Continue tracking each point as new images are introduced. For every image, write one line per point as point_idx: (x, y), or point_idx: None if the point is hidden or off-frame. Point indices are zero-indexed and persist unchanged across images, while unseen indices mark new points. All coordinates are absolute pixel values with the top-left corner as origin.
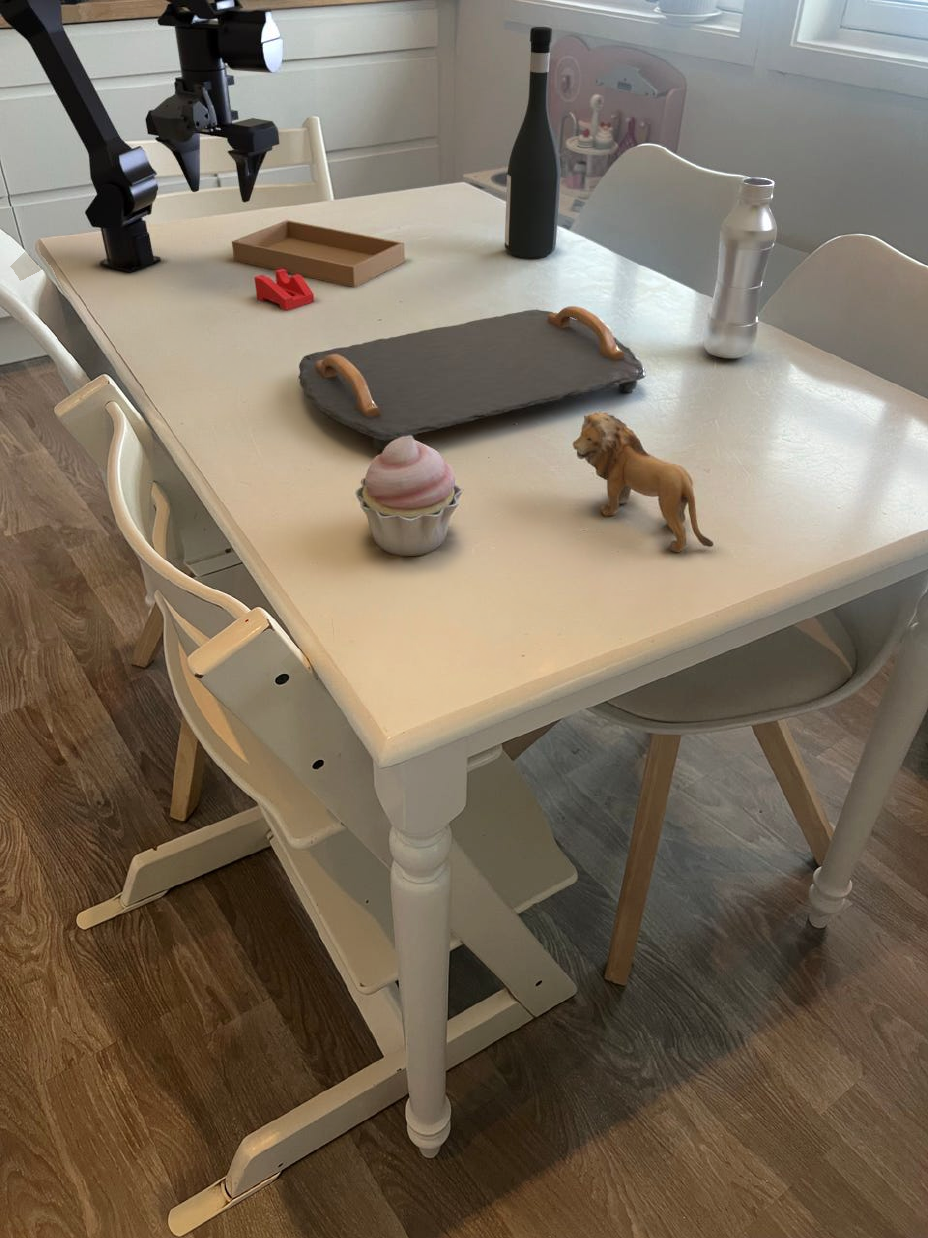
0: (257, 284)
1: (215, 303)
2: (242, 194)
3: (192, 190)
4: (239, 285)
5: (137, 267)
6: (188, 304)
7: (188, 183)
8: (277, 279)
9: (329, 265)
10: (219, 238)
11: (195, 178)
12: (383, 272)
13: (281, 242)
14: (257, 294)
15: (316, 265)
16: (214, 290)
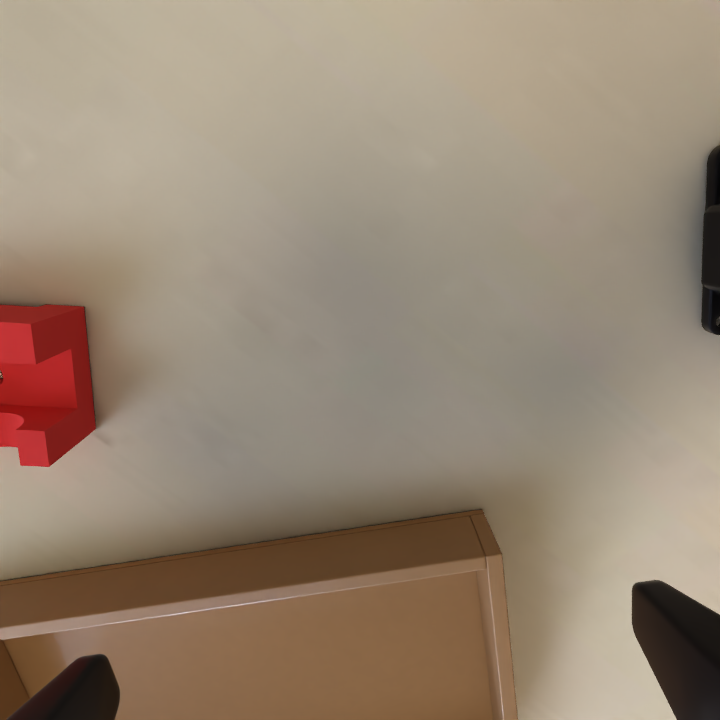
0: (31, 316)
1: (148, 162)
2: (34, 702)
3: (647, 583)
4: (253, 356)
5: (711, 193)
6: (214, 73)
7: (714, 617)
8: (55, 416)
9: (28, 614)
10: None
11: (699, 711)
12: None
13: (479, 698)
14: (68, 309)
15: (94, 597)
16: (276, 258)
